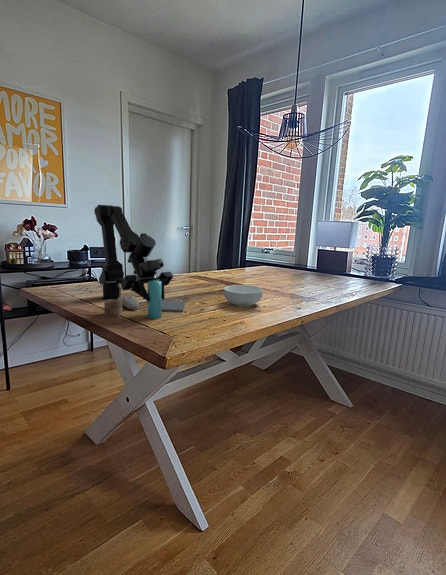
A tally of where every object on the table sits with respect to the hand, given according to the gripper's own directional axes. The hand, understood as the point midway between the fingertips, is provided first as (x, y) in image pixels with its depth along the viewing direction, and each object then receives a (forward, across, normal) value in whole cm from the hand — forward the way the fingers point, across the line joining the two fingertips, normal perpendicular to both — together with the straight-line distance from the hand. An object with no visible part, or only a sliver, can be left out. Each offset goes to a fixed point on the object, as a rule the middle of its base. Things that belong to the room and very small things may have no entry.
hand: (156, 299), depth 116 cm
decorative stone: (-9, 0, +19) cm, 21 cm away
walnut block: (-4, -10, +14) cm, 17 cm away
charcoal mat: (-3, +11, +12) cm, 17 cm away
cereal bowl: (+7, +40, +2) cm, 41 cm away
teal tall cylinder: (+4, 0, +6) cm, 7 cm away
